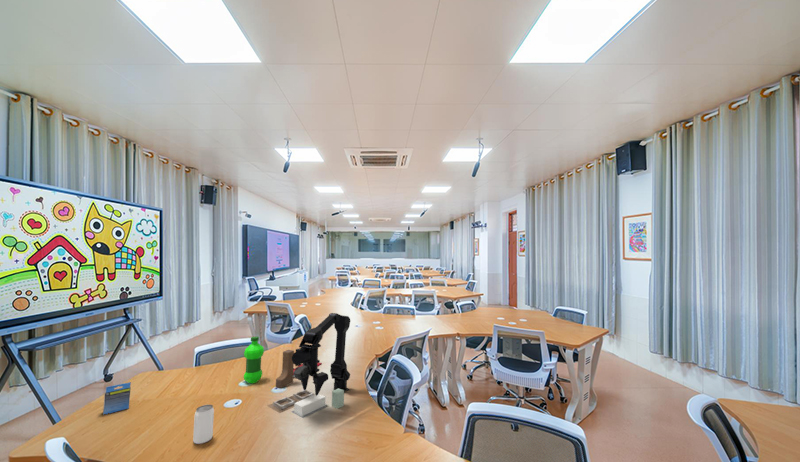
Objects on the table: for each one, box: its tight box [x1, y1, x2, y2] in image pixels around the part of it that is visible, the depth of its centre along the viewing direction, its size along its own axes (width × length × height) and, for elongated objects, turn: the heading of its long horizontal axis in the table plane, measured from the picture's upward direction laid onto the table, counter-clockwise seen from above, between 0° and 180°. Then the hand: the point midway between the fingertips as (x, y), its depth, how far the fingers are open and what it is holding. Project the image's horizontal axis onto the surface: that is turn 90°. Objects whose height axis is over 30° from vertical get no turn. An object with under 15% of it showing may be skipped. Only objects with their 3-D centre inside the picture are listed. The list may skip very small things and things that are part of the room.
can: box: [192, 404, 215, 445], centre depth 122 cm, size 6×6×12 cm
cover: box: [293, 393, 326, 417], centre depth 144 cm, size 13×6×4 cm, turn 142°
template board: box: [291, 404, 328, 419], centre depth 144 cm, size 14×9×3 cm, turn 142°
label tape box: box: [102, 381, 132, 415], centre depth 144 cm, size 9×4×12 cm, turn 135°
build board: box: [267, 389, 315, 414], centre depth 152 cm, size 22×11×2 cm, turn 142°
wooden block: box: [275, 349, 295, 389], centre depth 174 cm, size 9×4×18 cm, turn 157°
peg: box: [331, 388, 345, 410], centre depth 148 cm, size 4×4×8 cm
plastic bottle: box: [243, 336, 265, 385], centre depth 178 cm, size 10×10×25 cm
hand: (310, 392), depth 145 cm, fingers open, 9 cm apart
